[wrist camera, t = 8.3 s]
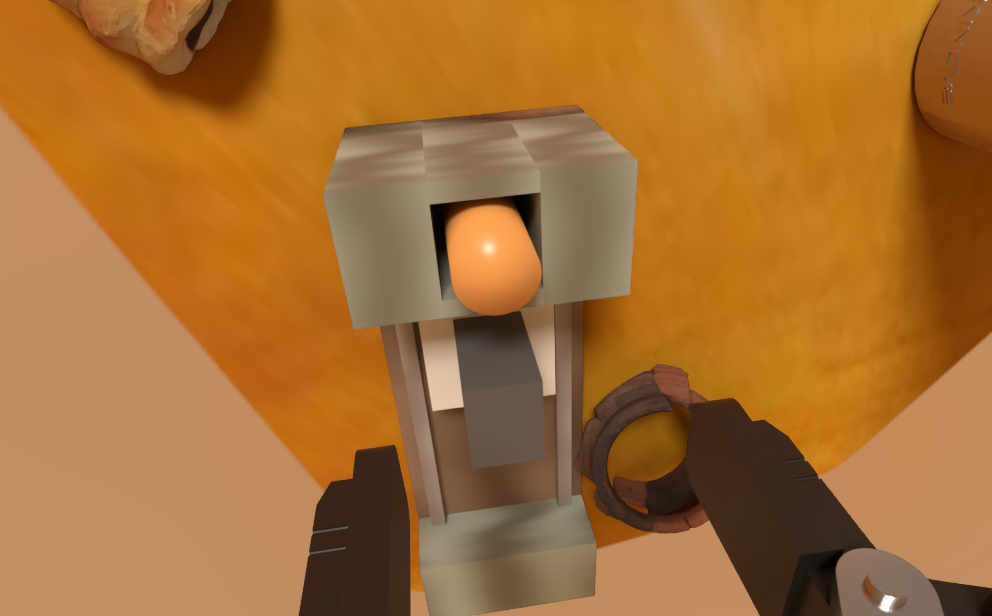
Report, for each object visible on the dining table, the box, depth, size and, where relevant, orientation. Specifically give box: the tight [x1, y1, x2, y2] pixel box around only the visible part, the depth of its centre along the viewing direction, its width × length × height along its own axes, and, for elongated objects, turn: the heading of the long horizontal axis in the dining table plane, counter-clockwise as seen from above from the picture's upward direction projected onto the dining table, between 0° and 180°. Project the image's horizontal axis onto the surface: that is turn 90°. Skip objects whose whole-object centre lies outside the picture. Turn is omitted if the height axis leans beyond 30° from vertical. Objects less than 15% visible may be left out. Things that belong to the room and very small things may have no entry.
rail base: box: [323, 105, 638, 616], centre depth 29 cm, size 10×28×8 cm, turn 4°
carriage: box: [418, 304, 556, 469], centre depth 26 cm, size 6×6×7 cm
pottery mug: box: [574, 365, 709, 533], centre depth 34 cm, size 12×10×8 cm
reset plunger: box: [442, 196, 542, 316], centre depth 21 cm, size 3×3×6 cm
